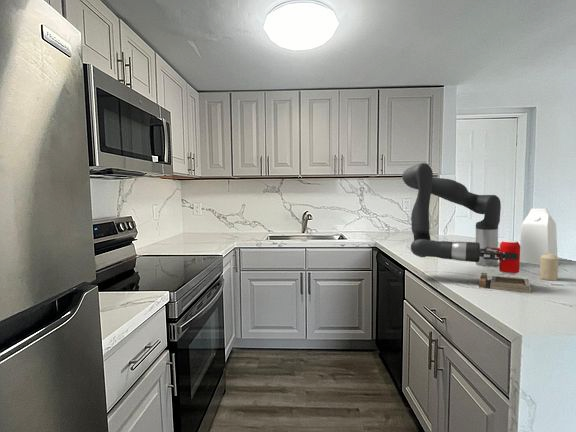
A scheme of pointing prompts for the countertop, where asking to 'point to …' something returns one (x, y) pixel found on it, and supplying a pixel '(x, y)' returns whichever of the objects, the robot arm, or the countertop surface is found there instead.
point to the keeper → (510, 284)
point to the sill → (483, 280)
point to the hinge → (410, 244)
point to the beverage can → (509, 264)
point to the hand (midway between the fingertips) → (517, 255)
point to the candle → (549, 267)
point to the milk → (537, 236)
